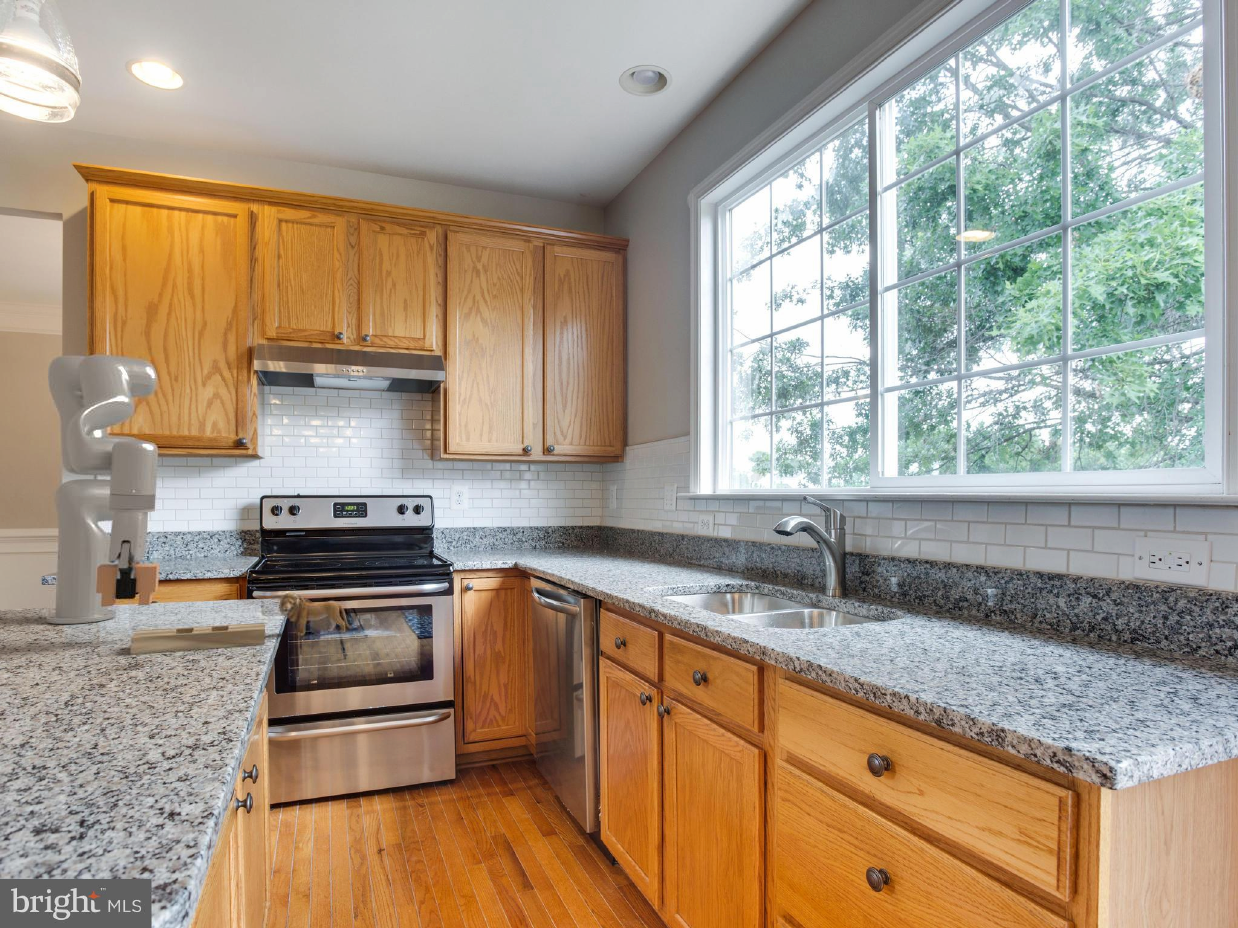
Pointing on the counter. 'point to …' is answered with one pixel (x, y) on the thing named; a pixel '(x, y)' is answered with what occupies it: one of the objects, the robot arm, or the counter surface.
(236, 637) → the rail
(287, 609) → the lion figurine
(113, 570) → the clip
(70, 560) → the robot arm
